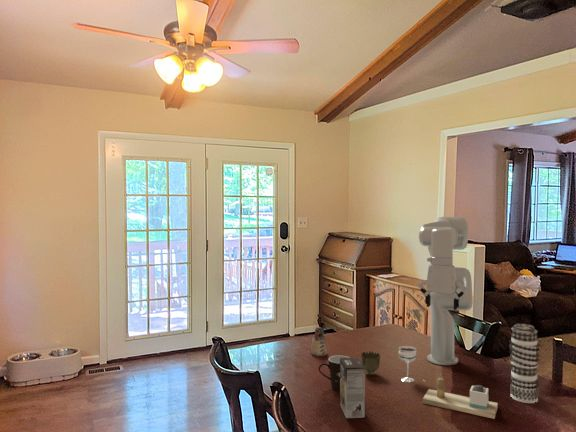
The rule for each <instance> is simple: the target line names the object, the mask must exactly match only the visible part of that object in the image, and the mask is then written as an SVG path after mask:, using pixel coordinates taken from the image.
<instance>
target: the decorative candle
mask: <svg viewBox="0 0 576 432" xmlns="http://www.w3.org/2000/svg"><path fill="white" fill-rule="evenodd" d="M510 329H511V331H512V332H511V334H512V335H511V337H510V338H511V339H510V340H509V343H510V344H509V345H508V347H509V354H510V355H509V359H510V361H509V362H510V364H511V372H510V374H511V375H510V376H509V377H510V381H509V382H510V383H511V384H510V385H509V388H510V389H509V391H510V395H509V396H510V398H511V397H512V398H511V399H512V400H515V401H517V402H520V403H524V404H535V402H536V403H537V402H539V398H538V397H539V389H538V387H539V384H538V383H539V379H538V374H537V371H538V367H539V363H538V362H539V361H540V359H539V358H538V357H540V354H539V353H537V352H539V351H540V348H539V347H540V346H541V345H540V342H538V332H539V331H538V330H537V329H535V326H533V325H532V324H531V325H530V324H527V323H516V324H514V325H513V326H512V327H511V328H510Z"/></svg>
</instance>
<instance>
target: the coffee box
mask: <svg viewBox="0 0 576 432" xmlns="http://www.w3.org/2000/svg"><path fill="white" fill-rule="evenodd" d="M339 399H340V408H341V411H342V412H343V414H344V416H345V419H357V418H358V419H360V418H361V419H362V418H365V417H366V416H365V415H366V409H365V408H366V405H365V404H366V400H365V399H366V370H365V367H364V365H363V364H362V360H360V359H359V357H350V358H340V390H339Z"/></svg>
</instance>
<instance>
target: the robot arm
mask: <svg viewBox="0 0 576 432" xmlns="http://www.w3.org/2000/svg"><path fill="white" fill-rule="evenodd" d="M418 240H419V241H418V242H419V243H420V245H422V246H424V247H427V250H428V252H429V255H430V256H429V257H427V258H426V261H427V262H429V263H430V264H429V265H428V269H427V274H426V275H427V276H426V279H425V280H424V281H421V282H419V283H417V285H418V288H419V289H420V291H421V293H422V294H423V295H424V297H425V300H424V301H425V305H426V307H427V308H429V309H430V310H429V311H430V353H429V354H428V355H427V356H426V359H427V361H428V362H430V363H432V364H435V365H438V366H439V365H441V366H455V365H457V364H458V363H459V358H458V357H457V356H456V355H455V320H454V317H453V315H452V314H451V313H450V311H462V312H463V311H466V312H467V311H470V310H471V309H472V308H473V303H474V302H473V300H474V299H473V298H474V297H473V282H472V281H473V280H472V275H471V272H470V269H468V268H466V267H456V266H455V265H453V264H454V261H453V256H454V254H453V251H454V250H456V251H457V250H458V251H462V250H463V251H464V249H466V248H467V246H468V242H469V225H468V221H467V220H466V218H464V217H463V216H440V217H437V218H436V219H434V221H433V222H429V223H424V224H422V225H421V226H420V229H419V233H418ZM424 285H426V288H425V287H424Z"/></svg>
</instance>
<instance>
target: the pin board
mask: <svg viewBox="0 0 576 432" xmlns="http://www.w3.org/2000/svg"><path fill="white" fill-rule="evenodd" d="M445 381H446V380H445V378H443V377H437V378H436V390H435V389H430V388H429V389H427V391H426V393H425V394H424V395H423V398H422V404H425V405H430V406H433V407H438V408H443V409H448V410H451V411H457V412H461V413H466V414H471V415H474V416H478V417H479V416H480V417H484V418H489V419H493V420H494V419H496V415H497V411H498V406H499V405H498V404H499V403H498V402H494V401H489V400H488V401H489V404H488V407H487V410H485V409H480V408H475V407H471V406H469V403H470V396H465V395H461V394H455V393H450V392H446V391H445V390H446V389H445V385H446V384H445ZM474 386H475V391H477V392H482V393H483V388H484V386H483V385H481V384H475V385H474Z"/></svg>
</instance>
